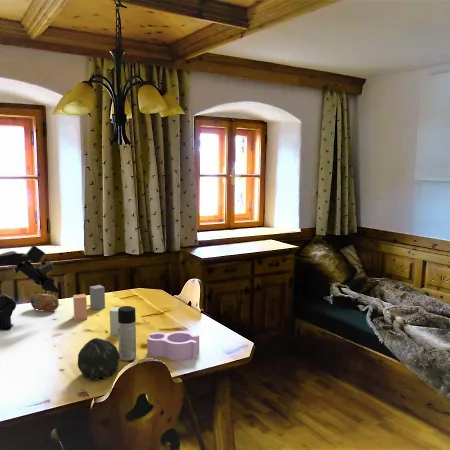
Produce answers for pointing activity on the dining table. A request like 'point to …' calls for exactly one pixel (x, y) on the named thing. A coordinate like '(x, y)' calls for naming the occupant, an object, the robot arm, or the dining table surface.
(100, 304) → the tall grey pillar
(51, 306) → the tin
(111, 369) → the squash
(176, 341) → the clip
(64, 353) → the dining table surface
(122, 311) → the spray can
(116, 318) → the pale grey tall block
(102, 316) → the dining table surface
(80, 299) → the salmon pink pillar
